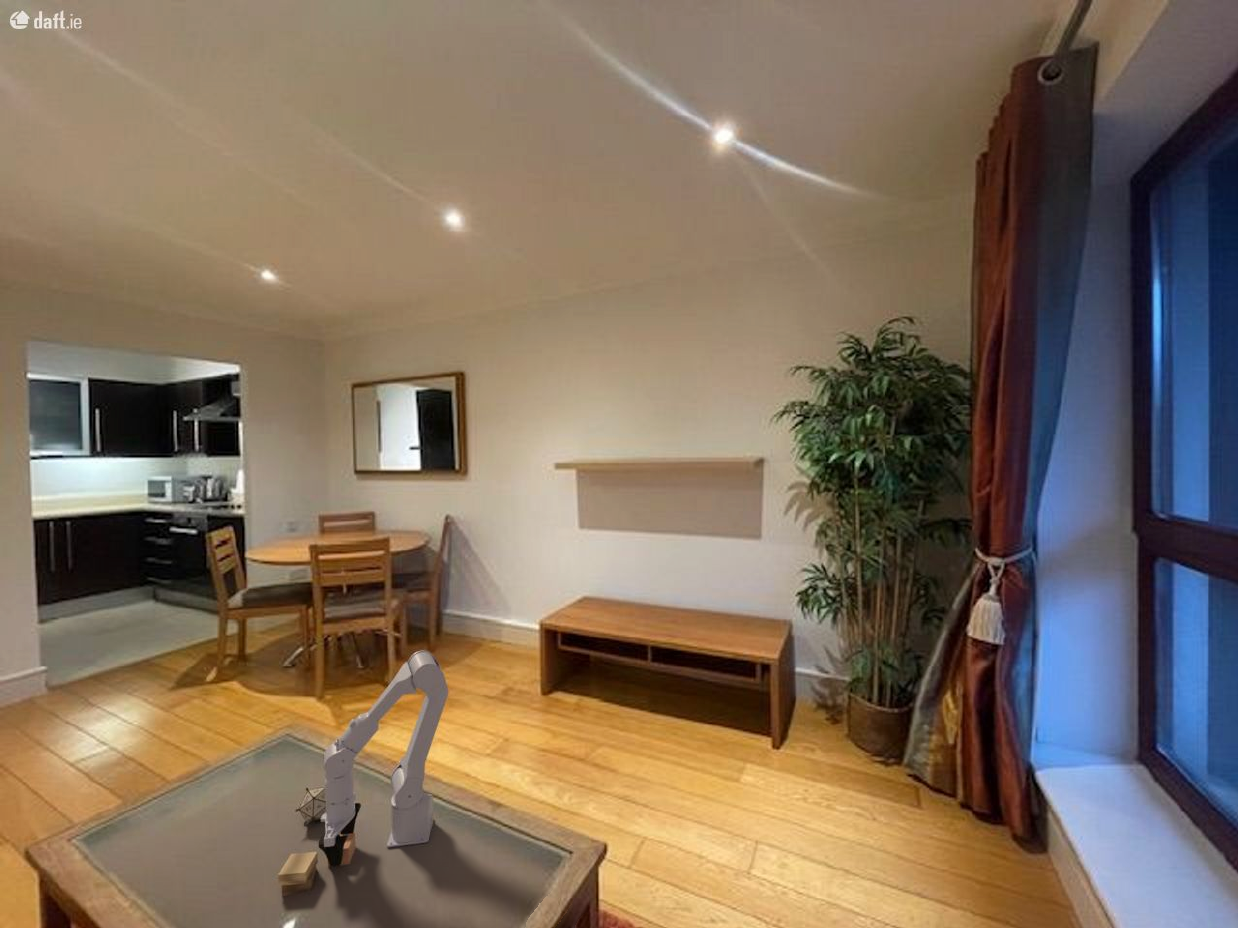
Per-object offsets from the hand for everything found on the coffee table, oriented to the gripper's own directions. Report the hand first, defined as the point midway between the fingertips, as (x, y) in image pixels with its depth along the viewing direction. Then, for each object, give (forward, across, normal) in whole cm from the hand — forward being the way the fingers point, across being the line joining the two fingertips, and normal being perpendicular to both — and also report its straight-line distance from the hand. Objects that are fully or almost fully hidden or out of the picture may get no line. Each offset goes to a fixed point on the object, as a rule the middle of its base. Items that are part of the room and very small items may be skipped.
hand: (341, 851), depth 121 cm
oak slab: (-1, +6, -7) cm, 9 cm away
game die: (+2, -14, -10) cm, 18 cm away
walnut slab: (+2, +6, -7) cm, 9 cm away
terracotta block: (+2, 0, 0) cm, 2 cm away
